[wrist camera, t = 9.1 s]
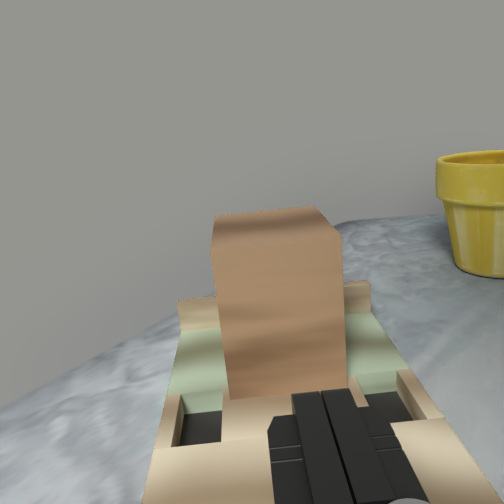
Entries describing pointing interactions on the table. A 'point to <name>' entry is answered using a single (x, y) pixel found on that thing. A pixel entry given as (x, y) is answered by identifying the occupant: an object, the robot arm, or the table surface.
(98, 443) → the table surface
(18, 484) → the table surface
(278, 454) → the robot arm
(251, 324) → the walnut block
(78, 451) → the table surface
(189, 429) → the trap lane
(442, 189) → the plant pot
